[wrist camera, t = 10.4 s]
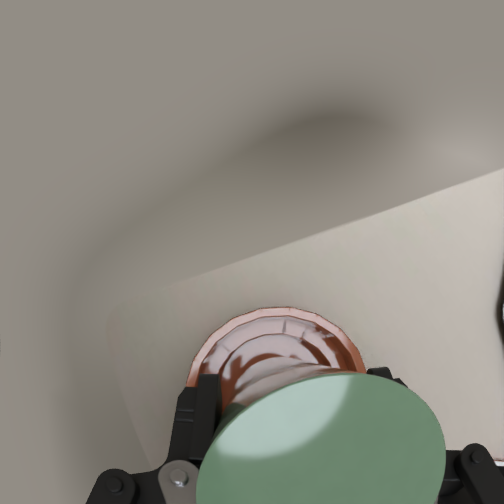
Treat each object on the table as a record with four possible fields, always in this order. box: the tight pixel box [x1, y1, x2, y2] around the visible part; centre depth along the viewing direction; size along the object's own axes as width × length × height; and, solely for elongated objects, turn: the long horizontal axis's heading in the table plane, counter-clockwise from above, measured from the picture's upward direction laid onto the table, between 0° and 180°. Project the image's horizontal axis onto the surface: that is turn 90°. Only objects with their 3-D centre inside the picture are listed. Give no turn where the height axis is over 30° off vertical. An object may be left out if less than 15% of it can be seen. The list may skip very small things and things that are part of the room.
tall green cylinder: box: [195, 357, 446, 504], centre depth 11 cm, size 6×6×12 cm
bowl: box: [186, 307, 367, 414], centre depth 21 cm, size 12×12×5 cm
